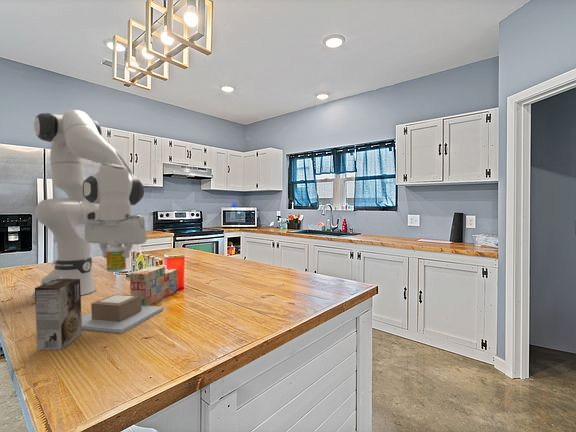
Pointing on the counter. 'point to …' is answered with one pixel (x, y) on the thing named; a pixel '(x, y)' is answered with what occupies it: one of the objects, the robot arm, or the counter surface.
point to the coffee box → (58, 313)
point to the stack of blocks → (153, 284)
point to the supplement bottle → (115, 257)
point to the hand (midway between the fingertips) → (116, 257)
